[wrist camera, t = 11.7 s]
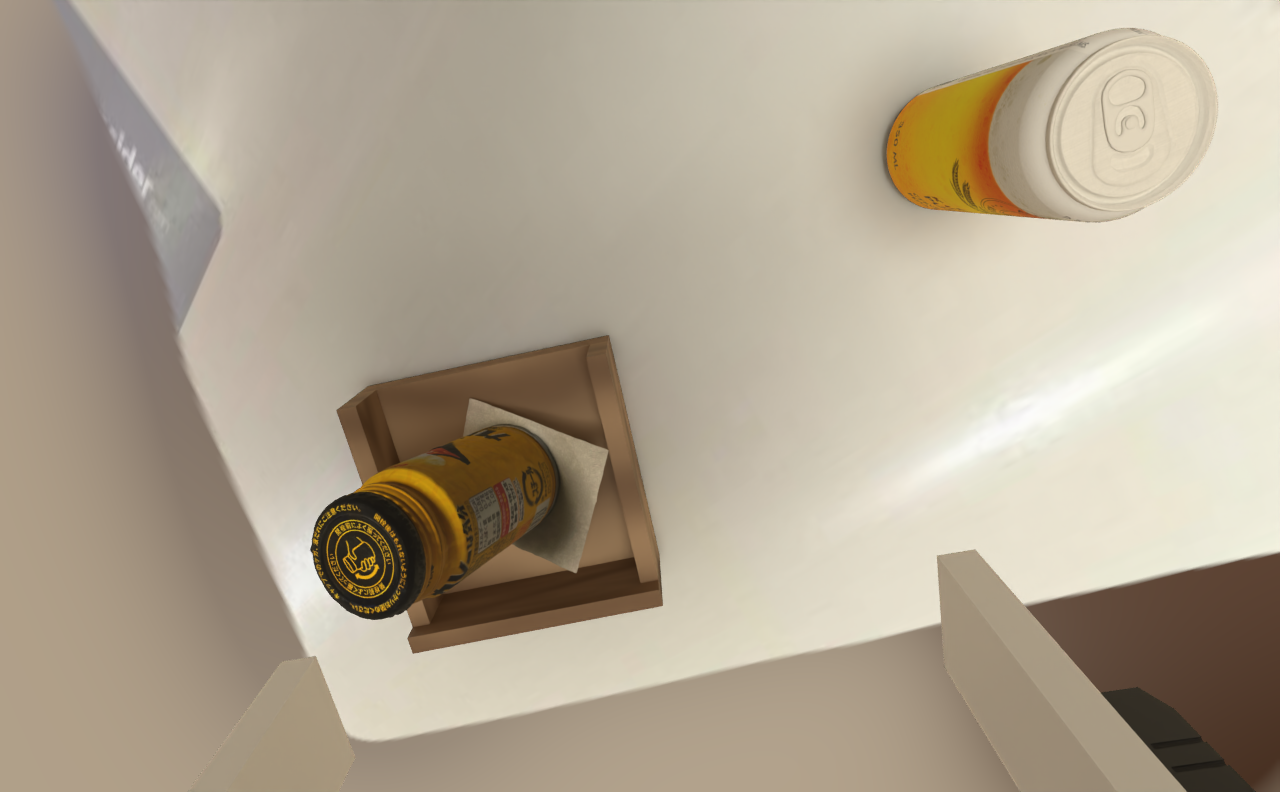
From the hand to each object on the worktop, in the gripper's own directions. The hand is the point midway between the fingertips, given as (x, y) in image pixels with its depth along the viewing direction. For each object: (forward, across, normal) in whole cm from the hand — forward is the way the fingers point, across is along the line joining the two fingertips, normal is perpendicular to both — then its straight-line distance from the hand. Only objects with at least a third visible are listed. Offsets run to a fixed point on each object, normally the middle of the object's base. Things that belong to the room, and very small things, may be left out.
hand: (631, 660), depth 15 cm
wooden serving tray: (+26, -8, -6) cm, 28 cm away
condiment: (+23, -7, -6) cm, 25 cm away
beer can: (+27, +18, +8) cm, 33 cm away
